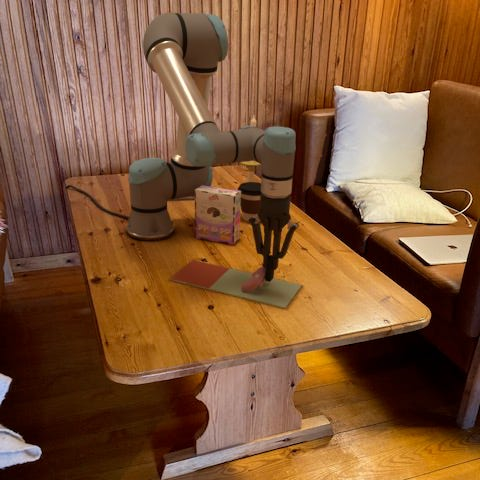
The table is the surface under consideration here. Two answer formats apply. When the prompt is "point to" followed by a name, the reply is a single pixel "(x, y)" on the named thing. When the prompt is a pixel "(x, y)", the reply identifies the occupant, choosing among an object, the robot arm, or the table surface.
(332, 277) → the table surface
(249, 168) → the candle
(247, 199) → the coffee cup
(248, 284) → the video game controller
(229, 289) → the placemat
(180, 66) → the robot arm
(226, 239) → the candy box
